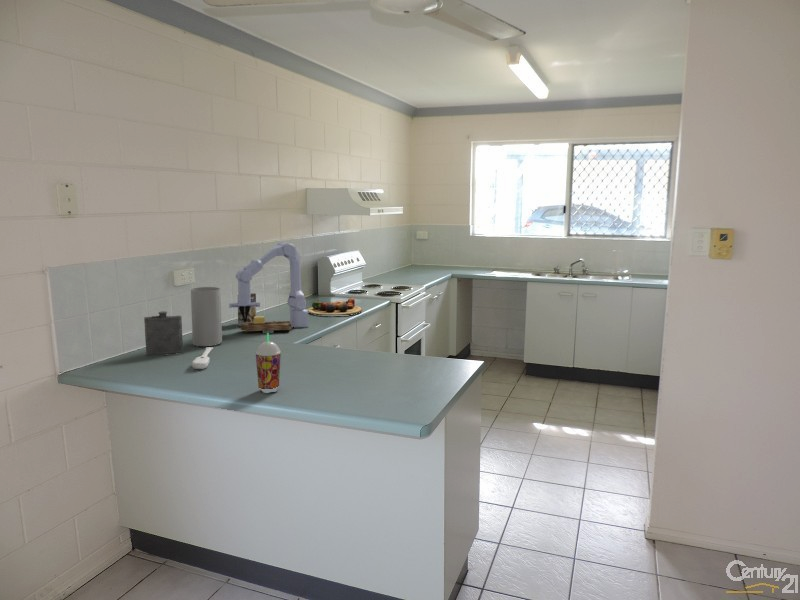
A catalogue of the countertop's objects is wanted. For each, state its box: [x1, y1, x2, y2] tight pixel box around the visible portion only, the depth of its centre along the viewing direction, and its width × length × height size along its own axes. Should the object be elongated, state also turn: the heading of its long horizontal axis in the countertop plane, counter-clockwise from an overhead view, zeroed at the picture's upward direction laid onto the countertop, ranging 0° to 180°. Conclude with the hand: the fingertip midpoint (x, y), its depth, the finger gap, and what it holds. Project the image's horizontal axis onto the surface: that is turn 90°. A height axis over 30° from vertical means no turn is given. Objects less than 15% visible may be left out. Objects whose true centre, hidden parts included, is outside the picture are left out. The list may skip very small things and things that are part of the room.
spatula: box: [191, 346, 214, 370], centre depth 234 cm, size 28×6×3 cm, turn 9°
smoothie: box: [255, 333, 282, 389], centre depth 197 cm, size 8×8×20 cm
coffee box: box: [237, 292, 257, 327], centre depth 305 cm, size 9×6×16 cm
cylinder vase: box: [190, 286, 223, 347], centre depth 261 cm, size 12×12×25 cm
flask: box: [143, 310, 184, 356], centre depth 243 cm, size 4×14×18 cm, turn 108°
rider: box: [254, 315, 266, 324], centre depth 289 cm, size 5×5×5 cm
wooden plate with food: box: [307, 297, 363, 315], centre depth 346 cm, size 32×32×8 cm
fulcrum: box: [262, 330, 274, 335], centre depth 290 cm, size 5×9×2 cm, turn 14°
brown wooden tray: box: [240, 320, 292, 332], centre depth 290 cm, size 24×8×3 cm, turn 104°
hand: (245, 321), depth 287 cm, fingers closed
